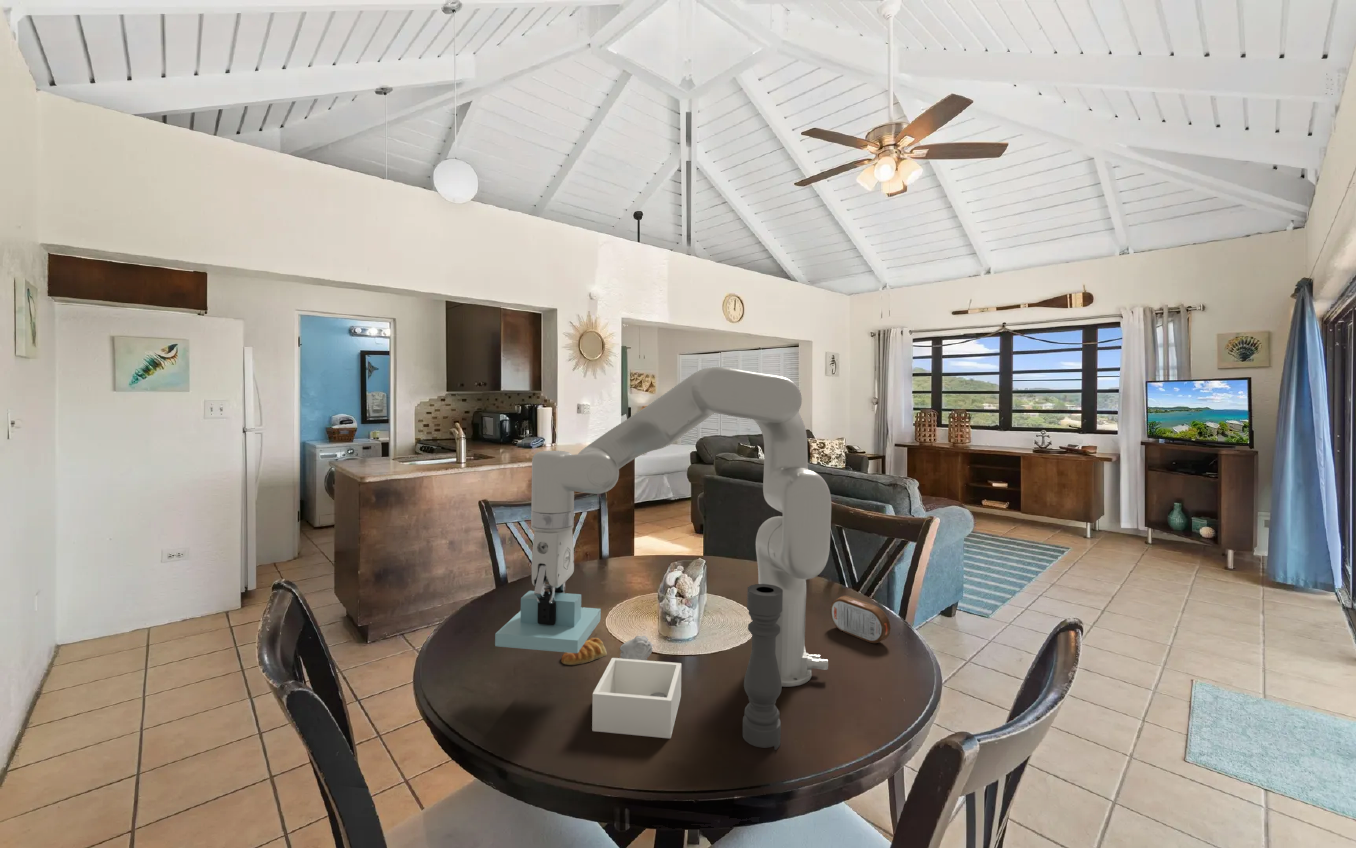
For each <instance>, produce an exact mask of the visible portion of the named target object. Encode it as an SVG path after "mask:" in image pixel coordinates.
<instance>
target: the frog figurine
mask: <svg viewBox="0 0 1356 848" xmlns="http://www.w3.org/2000/svg"><path fill="white" fill-rule="evenodd" d="M653 646H654V644H653V643H652V642H651V641H650V640H649V638H648V636H646V635H642V636H641V635H636V636H635V637H634V638H632V639H630V640H628V641H626V642H624V643H622V645H621V646H620V647H619V650H620V655H619V656H620V658H621V659H634V660H647V661H648V658H649V657H650V656H651V654H652V653H653V651H654V650H653V649H654V648H653Z"/></svg>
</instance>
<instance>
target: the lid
mask: <svg viewBox="0 0 1356 848" xmlns="http://www.w3.org/2000/svg"><path fill="white" fill-rule="evenodd" d="M534 591H535V590H528V591H527V592H526V593H525V594H524V595H523V596H522V597H520V610H519V611H518V613H516V614H515V615H513V617H512V618H511V619H510V620H509V621H508V622H506V623H505V624H504V625H503V626H501V628H500V629H499V630H498V631H496V632H495V634H494V638H495V639H494V645H495V646H494V647H501V648H513V649H524V650H525V649H526V650H535V651H537V650H538V651H547V652H558V653H565V652H568V653H578V652H579V650H580V649H581V648H582V646H583V645H584V643H585V642H586V640H589V637H590V636H591V634H592V633H593V632H594V630H595V629H596V627H597V626H598V625H599V623H600V622H601V620H602V618H601V616H602V613H601V611H602V609H601V608H594V607H582V594H580V593H570V592H569V593H567V592H562V593H556V592H555V596H554V602H556V623H555V624H554V625H543V624H538V603H537V596H536V595H535V594H534ZM548 593H549V595H550V591H548Z"/></svg>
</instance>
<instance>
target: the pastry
mask: <svg viewBox="0 0 1356 848" xmlns="http://www.w3.org/2000/svg"><path fill="white" fill-rule="evenodd" d="M606 656H608V653H607V649H606V647H605V646H604V642H603V640H601V639H600V638H599V637H590V639H589V638H588V639H587V640H586V642H585V643H584V645H583V646H582V648H581V649H580V650H579V652H578V653H568V652H563V654H562V655H561V660H560V662H561V663H562V664H564V665H566V666H575V665H581V664H585V663H586V664H587V663H590V662H593V661H594V660H597V659H600V658H603V657H606Z"/></svg>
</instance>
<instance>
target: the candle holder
mask: <svg viewBox="0 0 1356 848" xmlns="http://www.w3.org/2000/svg"><path fill="white" fill-rule="evenodd" d="M746 592H747V594H746V595H747V597H746V598H747V599H746V600H747V601H746V609H747V610H748V615H749V616H750V619H751V622H750V623H748V626H747V631H748V632H750V634H751V653H750V656H749V661H748V664H747V669H746V671H745V675H744V681H743V687H744V688H743V689H744V691H745V694H746V696H748V702H749V703H747V705H746V706H745V707H744V716H743V717H742V736H741V737H742V738H743V740H744V741H745V743H748V744H749V745H751V746H753V747H757V748H764V749H766V748H772V747H774V751H776V750H778V749H779V747H780V746H781V735H782V734H781V731H782V730H781V729H782V724H781V718H780V716H781V715H780V710H779V709H778V707H777V705H776V704H777V699H778V698H779V697H780V695H781V693H782V690H783V689H782V683H781V678H780V673H779V668H778V663H777V658H776V653H775V650H776V637H777V635H778V634H779V633H780V626H779V625H778V624H777V623H776V622H777V621H778V619H779V617H780V613H781V612H782V604H783V590H782V589H781V588H780V587H777V586H774V585H769V584H759V583H754V584H751V585H749V586H747V591H746Z"/></svg>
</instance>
